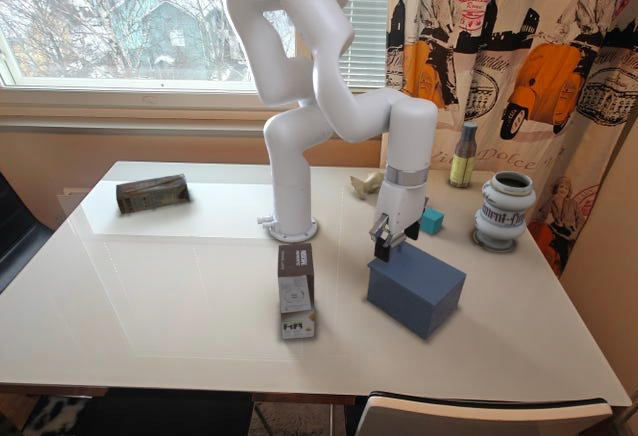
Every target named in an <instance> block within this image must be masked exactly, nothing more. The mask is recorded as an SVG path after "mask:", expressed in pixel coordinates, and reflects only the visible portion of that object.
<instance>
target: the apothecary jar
mask: <svg viewBox="0 0 638 436" xmlns="http://www.w3.org/2000/svg"><path fill="white" fill-rule="evenodd" d="M533 183H534V182H533V180H532V178H531V177H529V176H527V175H526V174H523V173H521V172H517V171H512V170H501V171H497V172H496V173H494V175H493V177H492V178H491V179H488V181H487V180H486V182H485V183H484V184H483V186H482V188H481V194H482V197H483V198H484V199H483V204H482V205H481V207H480V208H479V209H477V211H476V212H475V213H474V215H473V223H474V225H475V227H476V230H475V231H474V232H473V235H472V236H473V240H474V241H475V243H476V244H477V245H480V246H482V247H483V249H485V250H486V251H487V250H488V251H491V252H495V253H507V252H510V251H511V250H513V249H514V247H515V239H518V238H520V237H522V236H523V235H524V234H525V232H526V231H527V223H526V220H525V215H526V212H527V210H528V209H530V208H532V207H533V206H534V204H535V203H536V201H537V193H536V191H535V189H533Z"/></svg>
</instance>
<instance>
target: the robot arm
mask: <svg viewBox="0 0 638 436" xmlns="http://www.w3.org/2000/svg"><path fill="white" fill-rule="evenodd" d="M349 1H350V0H222V3H223V7H224V11H225V15H226V17H227V19H228V22H229V24H230V26H231V28H232V30H233V32H234V34H235V36H236V37H237V39H238V41H239V43H240V46H241V48H242V51H243V54H244V57H245V61H246V65H247V67H248V70H249V73H250V75H251V79H252V82H253V85H254V89H255V91H256V94H257V97H258V99H259V100H260V102H261V103H262V105H263V106H265V107H267V108H278V107H283V106H286V105H291V104H294V103H297V102H298V105H299V107H296V108H292V109H289V110H286V111H282V112H279V113H277V114H275V115H272V117H270V118H269V119H267V121H266V122H265V124H264V127H263V138H264V139H263V140H264V142H265V146H266V149H267V154H268V157H269V165H270V173H271V174H270V175H271V187H272V198H273V199H272V200H273V210H272V214H268V216H267V215H266V216H257V217H256V220H257V225H262V229H269V233H270V235H271V236H272V237H273V238H274V239H276V240H278V241H281V242H284V243H302V242H304V241H307V240H309V239H311V238H312V237H313V236H315V234H316V233H317V231H318V223H317V220H316V219H315V218H314V217H313V216H312V181H311V180H312V178H311V177H312V176H311V175H312V173H311V171H312V170H311V166H310V163H309V162H308V161H307V159H306V158H305V156H304V152H305V151H307V150H309V149H310V148H313V147H316V146H318V145H321V144H323V143H325V142H327V141H328V140H330V139H331V138H332V137H333V135H334V132H335V133H336V135H338V137H340V138H341V139H342V140H343V141H346V142H347V143H351V144H359V143H363V142H366V141H368V140H370V139H372V138H374V137H377V136H379V135H382V134H387V133H388V136H387V138H388V139H387V147H386V157H385V166H384V171H385V176H384V178H385V180H383V181H382V184H381V187H380V189H379V190H378V195H377V199H376V206H375V212H374V219H373V225H372V227H371V228H370V229H369V231H368V234H369V236H370V239H371V240H372V241H373V242H374V251H373V255H374V258H376V257H377V258H379V259H380V260H382V261H384V262H386V263H387V262H388V261H389V255H390V247H391V246H390V245H389V243H390V241H391V239H392V238H394V236H396V235H398V234H399V233H401V232H403V233H405V235H406V237H407V238H408V239H410V240H412V241H415V242H416V241H418V240H419V235H420V230H421V229H420V224H419V223H421V222H422V215H423V213H424V212H425V210H426V207H427V205H428V202H429V199H430V198H429V197H428V196H426V195H427V183H428V179H429V172H430V166H431V161H432V154H433V148H434V143H435V137H436V130H437V125H438V120H439V119H438V117H439V107H438V106H437V105H436V104H435V103H434V102H433V101H432V100H428V99H425V98H421V97H420V98H419V97H413V96H410V95H407V94H406V93H404V92H402V91H400V90H399V89H396V88H393V87H389V86H388V87H387V86H384V87H379V88H377V89H372V90H370V91H366V92H363V93H359V94H356V95H354V94H353V93H352V91H351V90H350V88H349V86H348V85H347V83H346V82H345V80H344V77H343V75H342V72H341V69H340V58H341V57H342V56H344V54H346V53H347V51H348V50H349V49H350V48H351V46H352V44H353V42H354V41H355V36H356V32H355V28H354V26H353V25H352V23H351V22H350V20H349V19H348V16H346V14H345V12H344V11H343V9H344V8H346V6H347V5H348V3H349ZM276 11H284V12H285V14H286V15H287V17H288V19H289V20H290V22H291V24H292V25H293V27H294V28H295V30H296V31H297V33H298V35H299V36H300V38H301V40H302V41H303V43H304V44H305V46H306V48H307V49H308V51H309V53H310V55H311V56H312V58H313V59H312V58H311V57H309V56H305V55H295V56H291V57H288V55H287V53H286V51H285V48H284V43H283V40H282V37H281V35H280V33H279V32H278V30H277V29H276V27H275V26H274V24H272V22H271V21H270V20H269V19H267V18H266V16H265V15H264V13H266V12H276ZM386 226H387V227H388V228H386ZM384 232H385V233H387V235H386V237H385V238H383V237H382V235H383V233H384Z"/></svg>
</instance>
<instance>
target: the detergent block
mask: <svg viewBox="0 0 638 436" xmlns="http://www.w3.org/2000/svg"><path fill="white" fill-rule="evenodd" d="M444 218H445V213H443V212H441V211H438V210H436V209H434V208H432V207H428V208H426V209H425V212H424V213H423V215H422V222H421V223H419V224H420V229H419V230H421V231H423V232H425V233H427V234H429V235H434V234H435V233H437V232H438V231H439V230H440V229H442V227H443V222H444Z"/></svg>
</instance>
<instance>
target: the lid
mask: <svg viewBox="0 0 638 436" xmlns="http://www.w3.org/2000/svg"><path fill="white" fill-rule="evenodd" d="M407 238H408V237H406V235H405V233H404V232H403V231H401V232H400V233H398V234H396V235H394V236H393V237H392V239H391V241H390V243H389V245H390V246H391V247H390V255H389V261H388V262H387V263H386V262H384V261H382V260H380V259H379V258H377V257H374V259H372V260H370V262H368V263H367V264H366V267H367V268H368V269H369V270H370V269H371V270H373V271H375V272H376V273H378V274H379V275H381V276H383V277H384V278H386V279H388V280H389V281H391V282H392V283H394V284H396V285H397V286H399V287H400V288H402V289H404V290H405V291H407V292H408V293H410V294H412V295H413V296H415V297H416V298H418V299H420V300H421V301H423V302H424V303H426V304H428V305H429V306H431V307H432V308H435V307H436V306H437V305H438V304H439V303H440V302H441V301H442V300H443V299H444V298H445V297H446V296H447V295H448V294H449V293H450V292H451V291H452V290H453V289H454V288H455V287H456V286H457V285H458V284H459V283H460V282H461V281H462V280H463V279H464V278H465V277H466V278H467V276H468V273H466V272H465V271H462V270H460V269H458V268H456V267H454V266H453V265H451V264H449V263H447V262H445V261H443V260H442V259H439V258H438V257H436V256H434V255H432V254H430V253H429V252H427V251H425V250H422V249H420V248H419V247H417V246H416V245H413V244H411V243H409V242H408V241H407Z"/></svg>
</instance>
